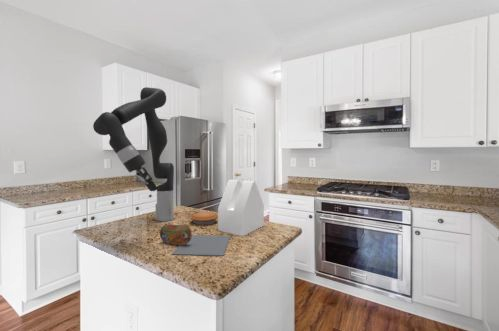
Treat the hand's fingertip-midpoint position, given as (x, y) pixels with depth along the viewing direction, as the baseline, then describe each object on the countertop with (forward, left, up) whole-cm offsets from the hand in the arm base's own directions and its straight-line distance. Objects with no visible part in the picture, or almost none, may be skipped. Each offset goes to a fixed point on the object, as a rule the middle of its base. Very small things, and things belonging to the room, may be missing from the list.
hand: (154, 190), depth 104 cm
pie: (+14, +34, -23) cm, 43 cm away
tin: (+10, 0, -23) cm, 25 cm away
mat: (+22, 0, -23) cm, 32 cm away
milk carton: (+36, +24, -23) cm, 49 cm away
